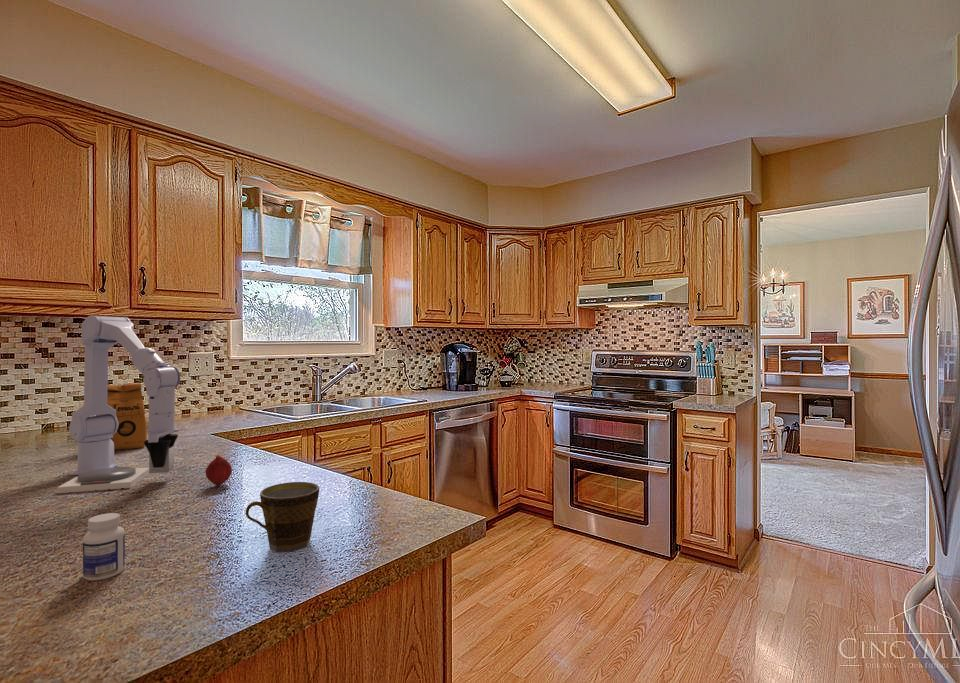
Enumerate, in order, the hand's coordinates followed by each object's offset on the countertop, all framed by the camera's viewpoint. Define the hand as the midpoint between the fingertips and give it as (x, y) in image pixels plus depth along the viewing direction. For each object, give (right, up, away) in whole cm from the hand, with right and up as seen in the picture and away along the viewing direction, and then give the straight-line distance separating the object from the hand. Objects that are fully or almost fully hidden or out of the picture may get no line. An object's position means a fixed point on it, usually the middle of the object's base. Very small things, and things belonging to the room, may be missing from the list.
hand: (161, 464), depth 129 cm
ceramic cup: (+48, -5, -41) cm, 63 cm away
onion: (+17, -5, -4) cm, 18 cm away
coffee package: (-38, -4, +39) cm, 55 cm away
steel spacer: (0, -2, 0) cm, 2 cm away
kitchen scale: (-13, -4, -1) cm, 14 cm away
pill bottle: (+24, -5, -51) cm, 57 cm away
